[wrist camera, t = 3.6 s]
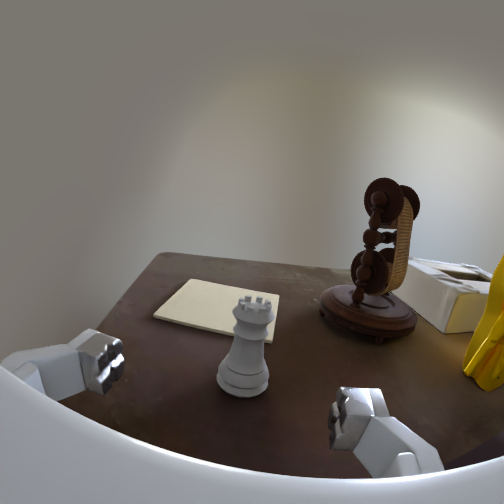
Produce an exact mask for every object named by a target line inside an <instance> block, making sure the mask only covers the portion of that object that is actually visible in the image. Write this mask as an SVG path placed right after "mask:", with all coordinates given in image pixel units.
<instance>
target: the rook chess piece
mask: <svg viewBox="0 0 504 504" xmlns="http://www.w3.org/2000/svg"><path fill="white" fill-rule="evenodd" d="M251 298H252V296H251V295H247V296H245V300H244V298H242V297H240V298H239V301H238V305H237V306H235V307H234V308H233V310H232V313H233V315H234V317H235V318H236V320H237V323H236V324H235V325H234V327H233V331H234V333H235V334H234V340H233V343H232V347H231V350H230V352H229V354H228V355H227V356H226V357H225V359H224V360H223V361H222V362H221V364H220V365H219V373H218V374H217V382H218V384H219V385H220V387H221V388H222V389H223V390H224V391H225V392H227V393H228V394H230V395H232V396H235V397H238V398H251V397H255V396H257V395H259V394H260V393H262V392H263V391H265V390H266V388H267V386H268V381H267V380H268V378H269V372H268V368H267V366H266V362H265V360H264V342H265V338H266V337H267V336H268V334H269V333H268V330H267V325H268V324H269V323H271V322H272V321H273V320H274V318H275V316H274V313H273V311H272V310H271V309H272V305H271V302H270V301H269V300H265V304H264V303H262V300H263V297H259V296H257V298H256V301H251Z"/></svg>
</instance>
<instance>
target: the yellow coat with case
mask: <svg viewBox="0 0 504 504" xmlns="http://www.w3.org/2000/svg"><path fill="white" fill-rule="evenodd" d="M462 370H463V374H464V375H465V376H468V377H469V375H470V376H471V377H473V378H474V379H475V381H476V382H477V384H478V385H479V386H480V387H481V388H482V389H483V390H485V391H489V392H490V391H493V390H495V389H496V388H498V387H500V386H501V385H502V384H503V383H504V255H503V257H502V259H501V261H500V262H499V264H498V266H497V268H496V270H495V271H494V274H493V276H492V279H491V283H490V287H489V293H488V299H487V304H486V308H485V311H484V314H483V316H482V318H481V320H480V322H479V324H478V326H477V328H476V330H475V332H474V334H473V336H472V339H471V341H470V343H469V346H468V349H467V351H466V354H465V357H464V361H463V365H462Z"/></svg>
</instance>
